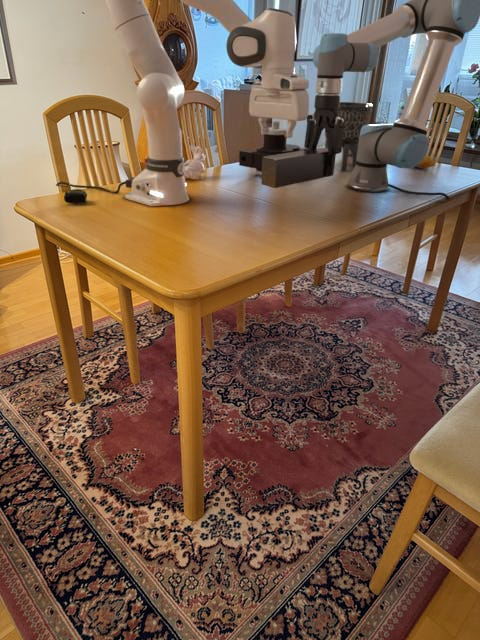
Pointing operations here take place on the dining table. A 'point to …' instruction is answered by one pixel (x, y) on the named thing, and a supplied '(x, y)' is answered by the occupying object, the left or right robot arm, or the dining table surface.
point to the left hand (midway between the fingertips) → (276, 135)
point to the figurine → (194, 164)
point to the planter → (352, 128)
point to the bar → (294, 167)
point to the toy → (426, 162)
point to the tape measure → (75, 196)
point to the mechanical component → (268, 148)
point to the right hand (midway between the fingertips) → (319, 173)
